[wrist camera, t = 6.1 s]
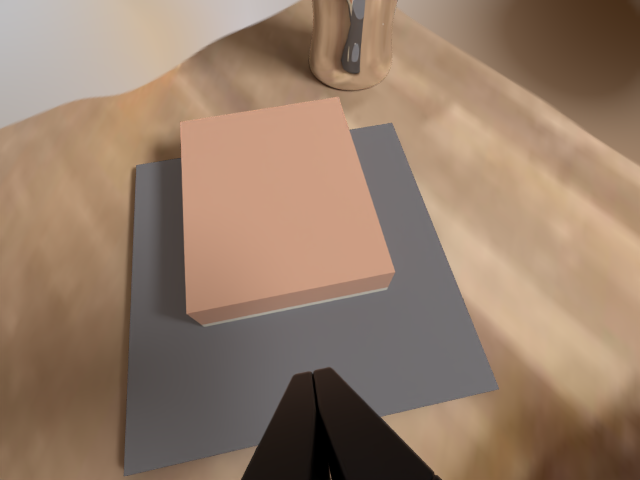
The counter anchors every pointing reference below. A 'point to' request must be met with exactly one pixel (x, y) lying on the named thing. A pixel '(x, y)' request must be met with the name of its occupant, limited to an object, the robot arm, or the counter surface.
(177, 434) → the mat
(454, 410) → the counter surface
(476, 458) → the counter surface
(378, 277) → the tile
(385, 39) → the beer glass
